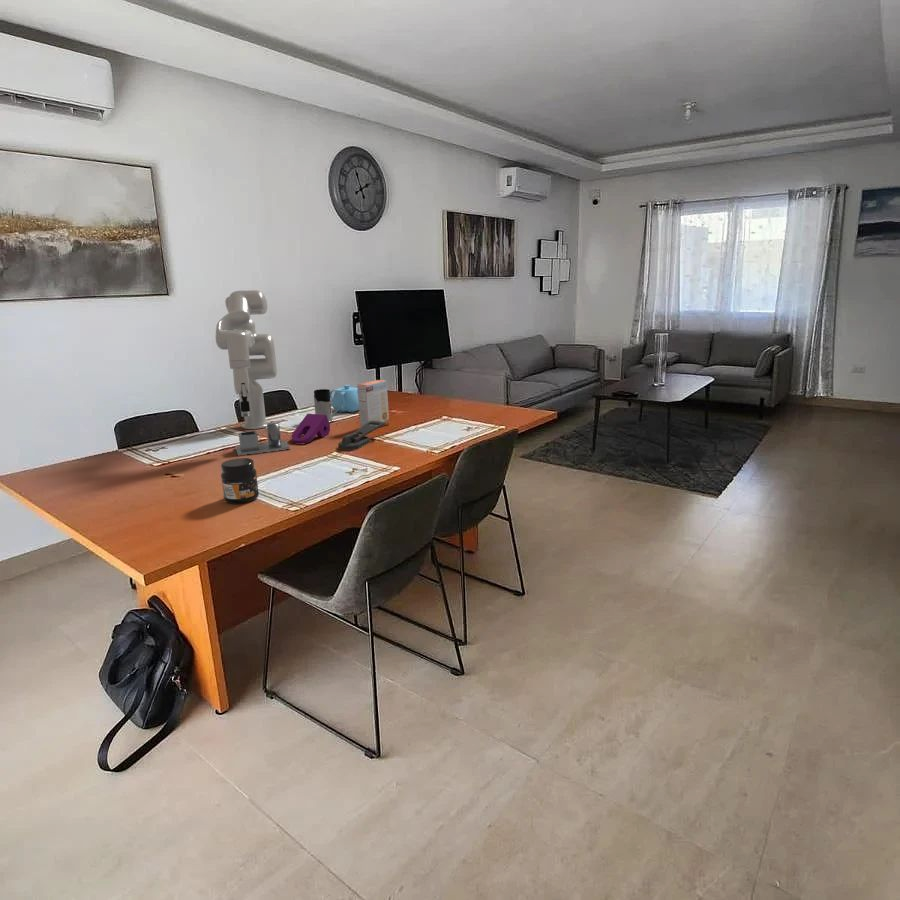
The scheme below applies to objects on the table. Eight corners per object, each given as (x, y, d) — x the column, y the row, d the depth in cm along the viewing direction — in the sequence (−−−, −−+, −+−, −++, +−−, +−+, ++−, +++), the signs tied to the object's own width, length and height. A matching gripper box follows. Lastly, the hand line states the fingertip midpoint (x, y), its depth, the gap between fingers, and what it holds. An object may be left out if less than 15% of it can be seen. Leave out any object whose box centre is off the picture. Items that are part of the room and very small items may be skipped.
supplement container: (225, 507, 180) (220, 469, 177) (223, 496, 189) (218, 460, 186) (261, 501, 184) (257, 464, 181) (257, 491, 193) (253, 455, 190)
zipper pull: (386, 422, 256) (352, 435, 235) (387, 436, 258) (353, 451, 237) (369, 420, 260) (333, 433, 239) (370, 434, 262) (335, 449, 241)
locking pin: (241, 415, 237) (238, 390, 234) (249, 414, 238) (246, 389, 235) (241, 416, 234) (238, 391, 231) (250, 416, 235) (247, 391, 233)
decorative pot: (338, 415, 301) (336, 389, 297) (328, 409, 315) (326, 384, 311) (368, 411, 308) (367, 385, 305) (357, 406, 322) (356, 381, 318)
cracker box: (380, 423, 283) (377, 379, 277) (389, 424, 280) (387, 380, 274) (359, 429, 272) (356, 383, 267) (369, 430, 269) (366, 384, 263)
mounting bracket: (313, 456, 252) (331, 429, 264) (306, 441, 246) (326, 414, 259) (294, 455, 255) (313, 428, 267) (287, 440, 249) (307, 413, 262)
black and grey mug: (316, 419, 293) (313, 389, 289) (345, 418, 294) (343, 388, 290) (314, 423, 284) (311, 392, 280) (344, 422, 286) (342, 391, 282)
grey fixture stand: (235, 448, 244) (232, 424, 241) (285, 442, 251) (283, 419, 248) (238, 456, 233) (235, 431, 230) (290, 449, 241) (287, 425, 238)
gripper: (228, 362, 236) (233, 407, 241) (231, 367, 222) (236, 415, 227) (247, 361, 239) (252, 406, 244) (252, 365, 225) (257, 413, 230)
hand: (245, 410), depth 235 cm, fingers closed on locking pin, 3 cm apart
